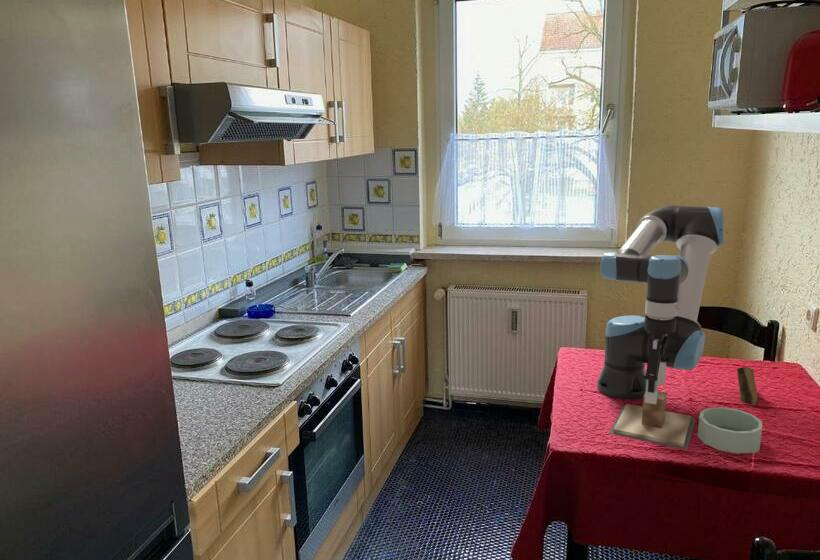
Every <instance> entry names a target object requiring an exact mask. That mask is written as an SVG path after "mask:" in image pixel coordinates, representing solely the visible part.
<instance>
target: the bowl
mask: <svg viewBox="0 0 820 560" xmlns="http://www.w3.org/2000/svg"><path fill="white" fill-rule="evenodd" d="M762 432H763V422H762V420H760V419H759V418H758V417H757V416H755V415H754V414H751V413H749V412H746V411H744V410H741V409H737V408H736V409H735V408H732V407H731V408H730V407H725V406H724V407H722V406H720V407H719V406H718V407H708V408H706V409H703V410H701V411H700V413H699V417H698V427H697V437H698V439H699V440H700V441H701V442H703V444H704V445H706V446H709V447H711V448H714V449H715V450H718V451H722V452H727V453H731V454H752V455H753V454H757V452H759V451H760V448H761V442H762V441H761V440H762Z"/></svg>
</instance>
